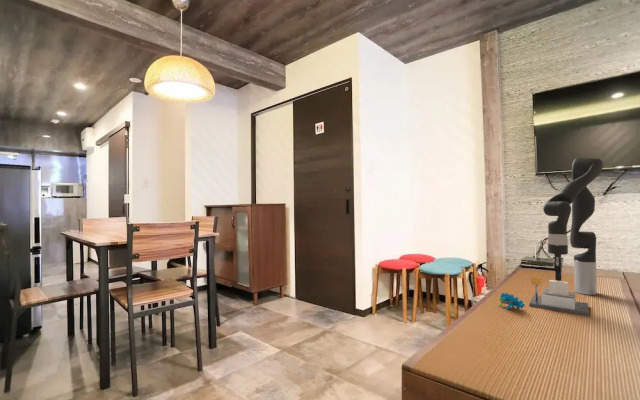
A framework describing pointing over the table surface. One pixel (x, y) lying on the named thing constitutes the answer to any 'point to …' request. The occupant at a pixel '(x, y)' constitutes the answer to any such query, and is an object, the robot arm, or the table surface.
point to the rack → (557, 301)
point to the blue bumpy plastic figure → (510, 301)
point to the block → (558, 287)
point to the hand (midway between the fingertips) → (558, 280)
